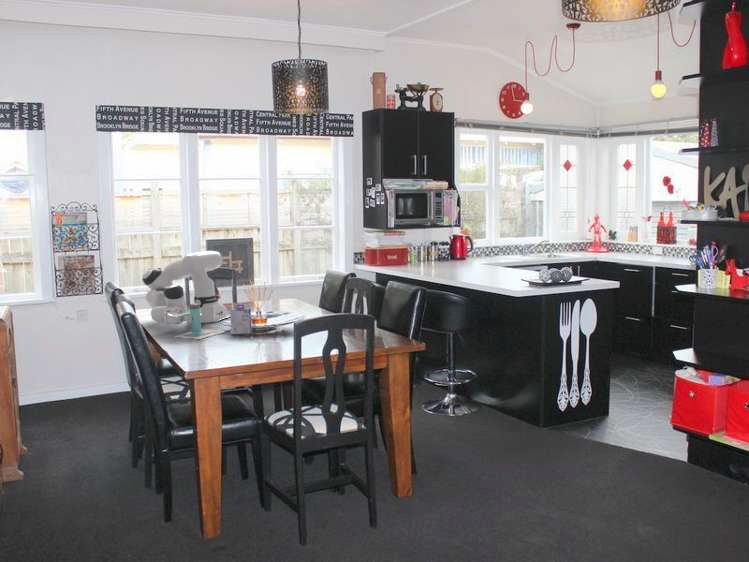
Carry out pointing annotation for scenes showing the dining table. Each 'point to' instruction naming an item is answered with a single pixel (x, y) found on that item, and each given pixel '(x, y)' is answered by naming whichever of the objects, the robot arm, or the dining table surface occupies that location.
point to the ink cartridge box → (240, 320)
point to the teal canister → (195, 318)
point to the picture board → (200, 334)
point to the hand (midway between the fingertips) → (196, 317)
